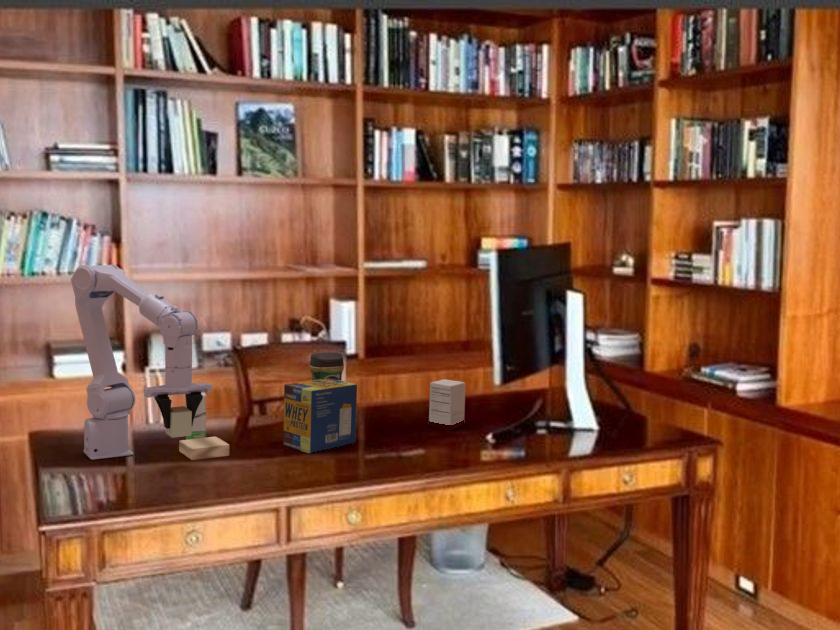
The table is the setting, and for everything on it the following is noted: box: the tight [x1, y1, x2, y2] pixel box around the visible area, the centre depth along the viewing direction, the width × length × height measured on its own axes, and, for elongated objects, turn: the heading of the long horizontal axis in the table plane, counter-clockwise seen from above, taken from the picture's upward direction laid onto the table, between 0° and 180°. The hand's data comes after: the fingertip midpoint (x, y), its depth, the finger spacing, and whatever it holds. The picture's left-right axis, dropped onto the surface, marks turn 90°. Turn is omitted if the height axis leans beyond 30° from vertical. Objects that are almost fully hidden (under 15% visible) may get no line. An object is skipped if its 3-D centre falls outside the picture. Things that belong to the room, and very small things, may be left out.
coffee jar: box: [309, 351, 345, 381], centre depth 247 cm, size 10×8×19 cm
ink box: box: [184, 392, 207, 440], centre depth 218 cm, size 9×5×12 cm, turn 18°
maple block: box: [178, 436, 230, 461], centre depth 204 cm, size 9×9×3 cm
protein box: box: [283, 378, 358, 454], centre depth 215 cm, size 10×15×16 cm
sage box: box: [165, 405, 192, 439], centre depth 192 cm, size 4×4×6 cm
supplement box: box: [428, 378, 466, 425], centre depth 239 cm, size 7×7×13 cm
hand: (178, 426), depth 192 cm, fingers closed on sage box, 4 cm apart
